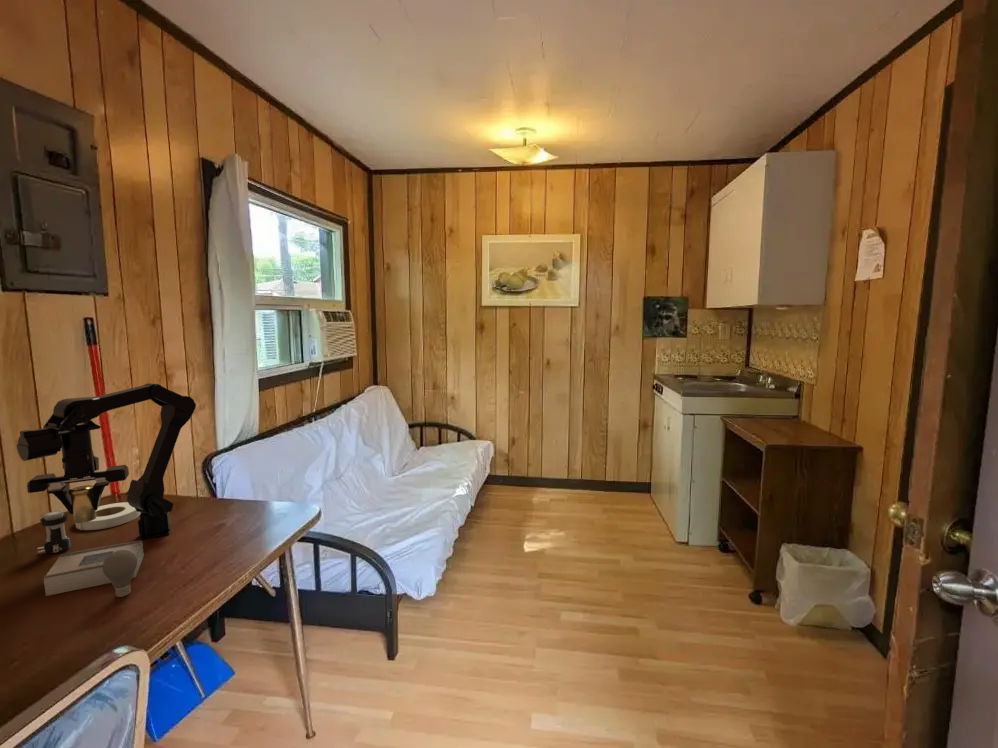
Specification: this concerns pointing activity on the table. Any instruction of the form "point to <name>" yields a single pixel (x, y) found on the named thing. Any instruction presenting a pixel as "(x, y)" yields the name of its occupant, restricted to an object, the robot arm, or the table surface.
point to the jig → (86, 568)
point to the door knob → (82, 504)
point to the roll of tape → (110, 516)
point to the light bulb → (120, 570)
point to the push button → (55, 532)
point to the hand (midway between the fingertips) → (84, 511)
